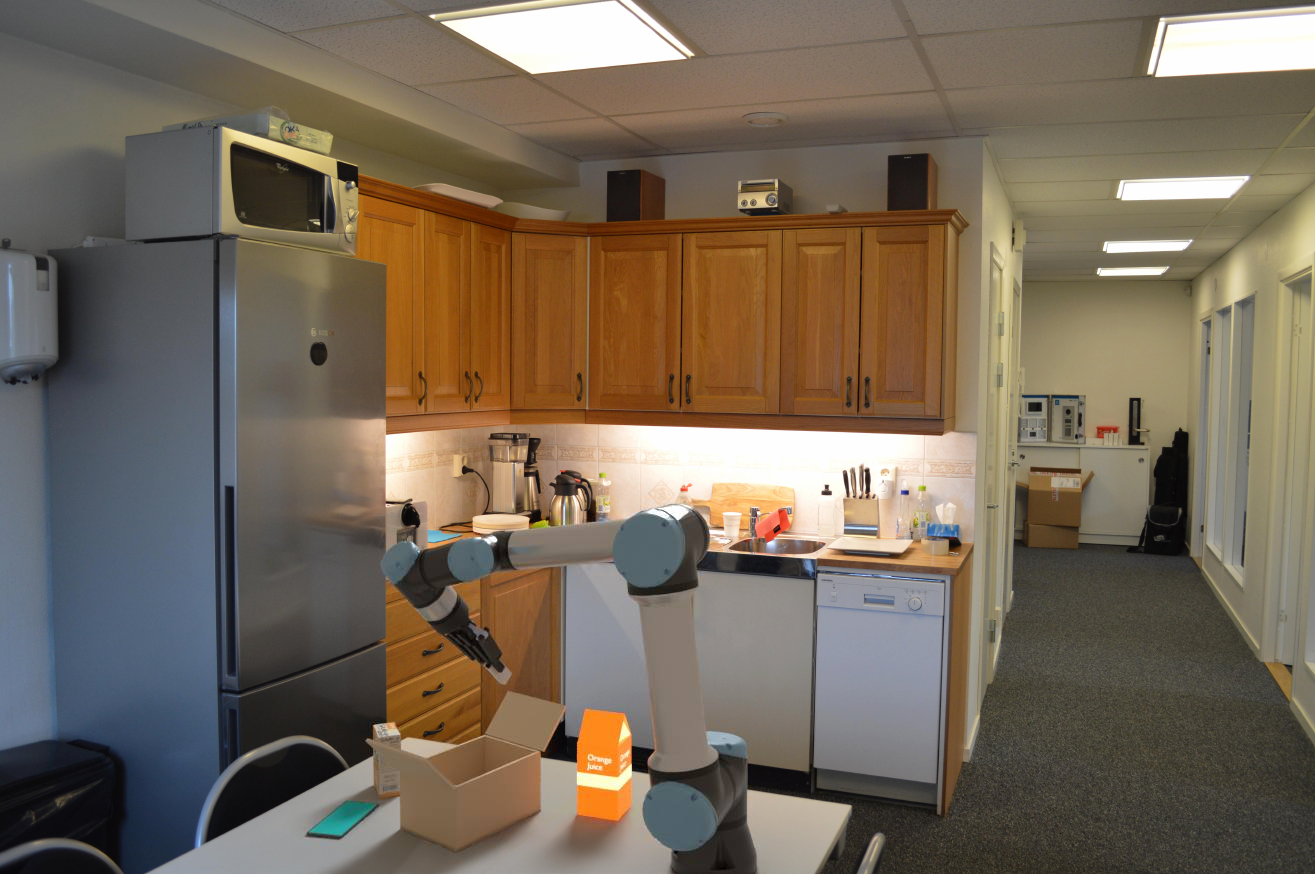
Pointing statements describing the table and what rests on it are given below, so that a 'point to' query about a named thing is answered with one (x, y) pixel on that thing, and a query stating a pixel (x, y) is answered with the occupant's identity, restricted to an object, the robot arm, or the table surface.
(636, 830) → the table surface
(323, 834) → the smartphone
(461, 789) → the carton
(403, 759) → the left flap
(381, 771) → the supplement box
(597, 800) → the orange juice
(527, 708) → the right flap
